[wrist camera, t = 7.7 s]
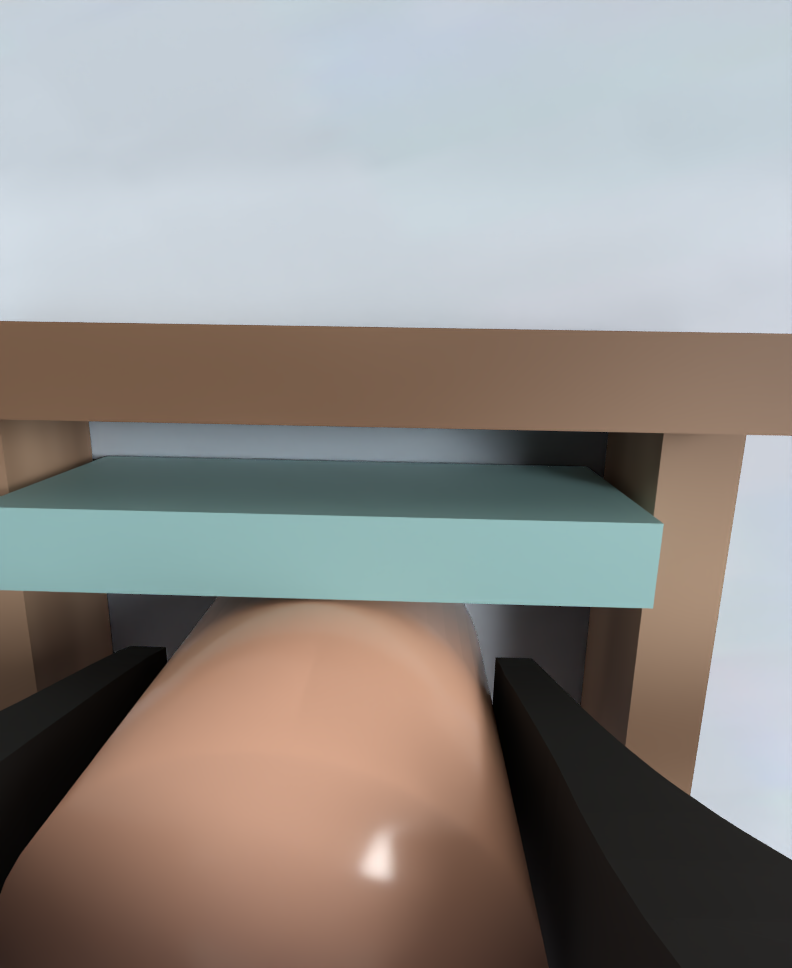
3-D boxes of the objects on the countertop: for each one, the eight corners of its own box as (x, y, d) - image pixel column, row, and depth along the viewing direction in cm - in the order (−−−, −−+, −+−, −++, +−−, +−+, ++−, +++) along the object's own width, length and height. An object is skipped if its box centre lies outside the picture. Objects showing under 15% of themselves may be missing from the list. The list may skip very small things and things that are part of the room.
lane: (611, 916, 14) (686, 1138, 10) (89, 894, 14) (-32, 1101, 10) (685, 336, 11) (833, 334, 7) (15, 325, 11) (-197, 318, 7)
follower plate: (581, 527, 12) (653, 608, 8) (113, 515, 12) (-15, 590, 8) (586, 466, 11) (664, 523, 8) (107, 456, 12) (-27, 506, 8)
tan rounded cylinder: (500, 551, 11) (597, 788, 5) (462, 801, 12) (506, 1215, 6) (204, 519, 11) (-28, 719, 5) (197, 772, 12) (5, 1159, 7)
